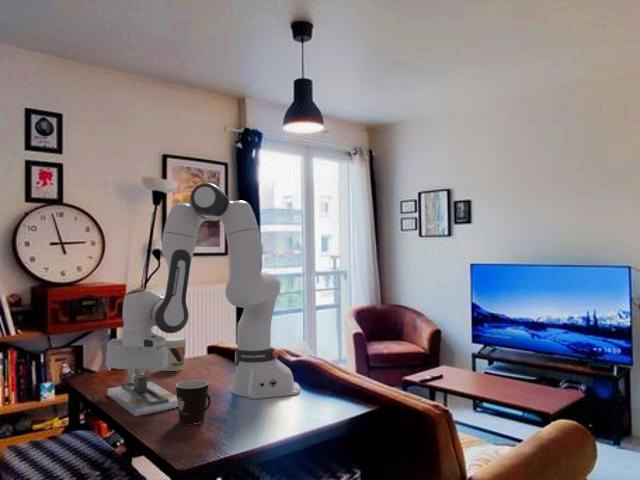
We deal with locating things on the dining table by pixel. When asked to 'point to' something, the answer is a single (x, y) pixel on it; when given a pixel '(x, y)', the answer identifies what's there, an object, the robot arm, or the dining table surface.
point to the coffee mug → (192, 400)
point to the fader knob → (140, 383)
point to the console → (143, 398)
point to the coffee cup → (175, 353)
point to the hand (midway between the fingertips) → (136, 382)
